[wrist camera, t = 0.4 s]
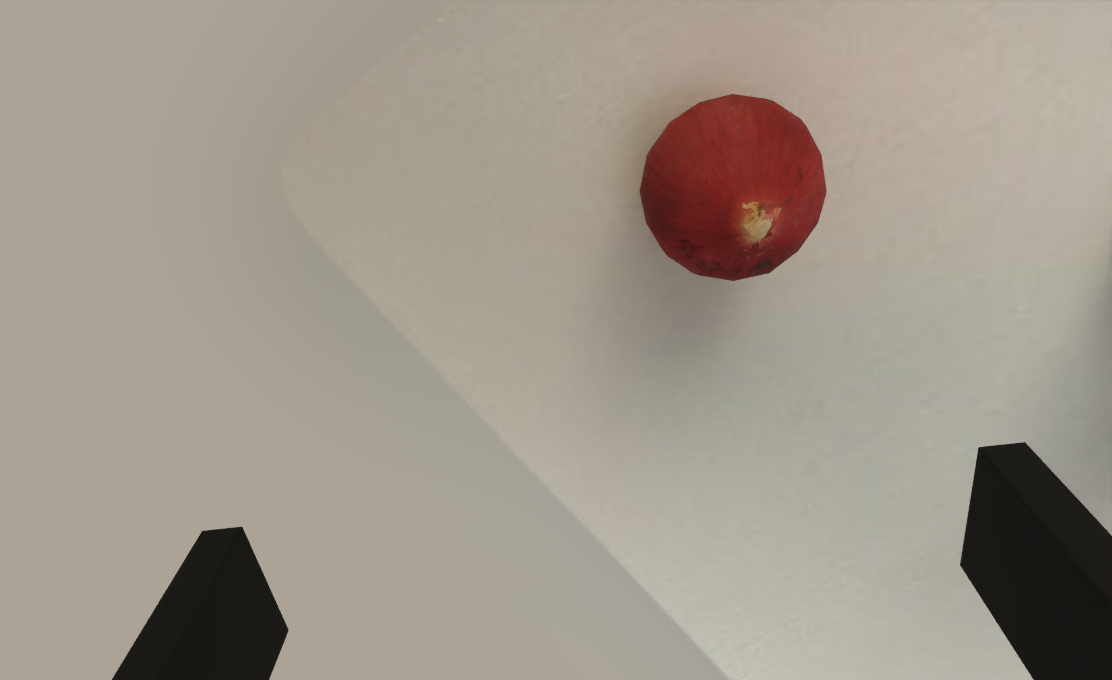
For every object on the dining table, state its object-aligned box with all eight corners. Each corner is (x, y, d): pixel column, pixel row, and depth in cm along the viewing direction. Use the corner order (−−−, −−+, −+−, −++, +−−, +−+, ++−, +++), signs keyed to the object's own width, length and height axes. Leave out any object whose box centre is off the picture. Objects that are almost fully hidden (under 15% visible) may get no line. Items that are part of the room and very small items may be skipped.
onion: (796, 216, 28) (874, 304, 21) (648, 250, 29) (677, 347, 22) (780, 60, 26) (863, 102, 19) (617, 101, 26) (638, 158, 19)
